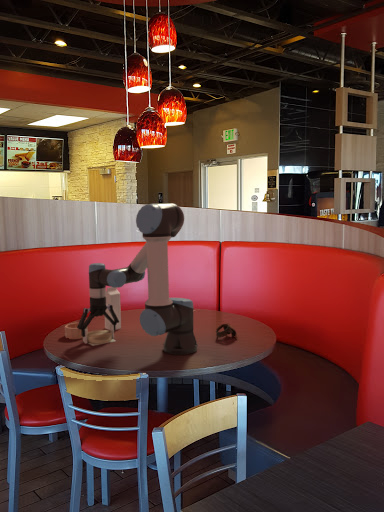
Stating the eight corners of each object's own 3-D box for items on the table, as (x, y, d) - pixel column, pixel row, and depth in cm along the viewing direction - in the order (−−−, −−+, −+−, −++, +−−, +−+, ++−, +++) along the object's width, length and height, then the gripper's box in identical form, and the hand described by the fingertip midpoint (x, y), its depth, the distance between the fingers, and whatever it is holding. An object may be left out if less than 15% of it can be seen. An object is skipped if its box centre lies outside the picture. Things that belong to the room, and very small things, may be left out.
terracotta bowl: (90, 337, 228) (90, 326, 227) (70, 341, 222) (69, 329, 221) (82, 332, 236) (82, 321, 236) (62, 335, 230) (61, 324, 230)
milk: (121, 329, 241) (120, 287, 238) (111, 331, 237) (110, 288, 234) (114, 326, 246) (113, 285, 243) (104, 329, 242) (103, 286, 239)
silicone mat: (116, 341, 221) (116, 340, 221) (92, 346, 214) (92, 345, 214) (105, 335, 230) (105, 334, 230) (82, 340, 223) (82, 339, 223)
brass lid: (115, 340, 221) (115, 333, 220) (92, 345, 214) (92, 338, 213) (105, 335, 230) (104, 328, 230) (82, 339, 223) (82, 332, 223)
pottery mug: (239, 342, 220) (231, 328, 218) (221, 350, 223) (213, 336, 220) (238, 329, 231) (230, 316, 229) (221, 336, 234) (213, 323, 231)
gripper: (118, 291, 229) (119, 333, 232) (69, 298, 215) (70, 343, 218) (125, 294, 223) (126, 337, 226) (75, 301, 209) (76, 347, 212)
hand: (99, 340), depth 222 cm, fingers open, 13 cm apart
